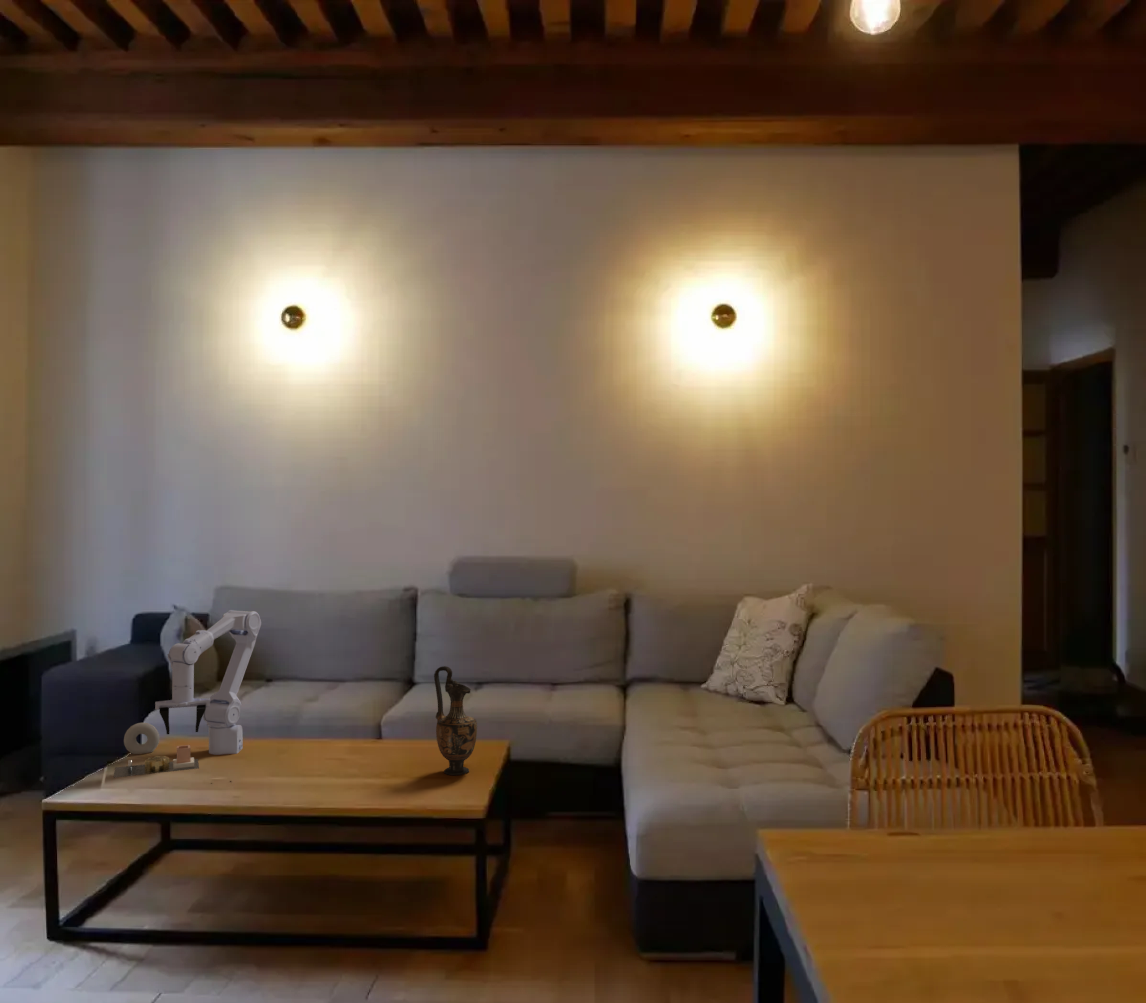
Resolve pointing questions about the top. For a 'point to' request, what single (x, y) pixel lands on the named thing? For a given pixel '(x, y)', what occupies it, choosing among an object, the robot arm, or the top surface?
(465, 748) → the vase
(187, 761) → the square sleeve on tile
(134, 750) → the donut
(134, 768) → the carrier plate
